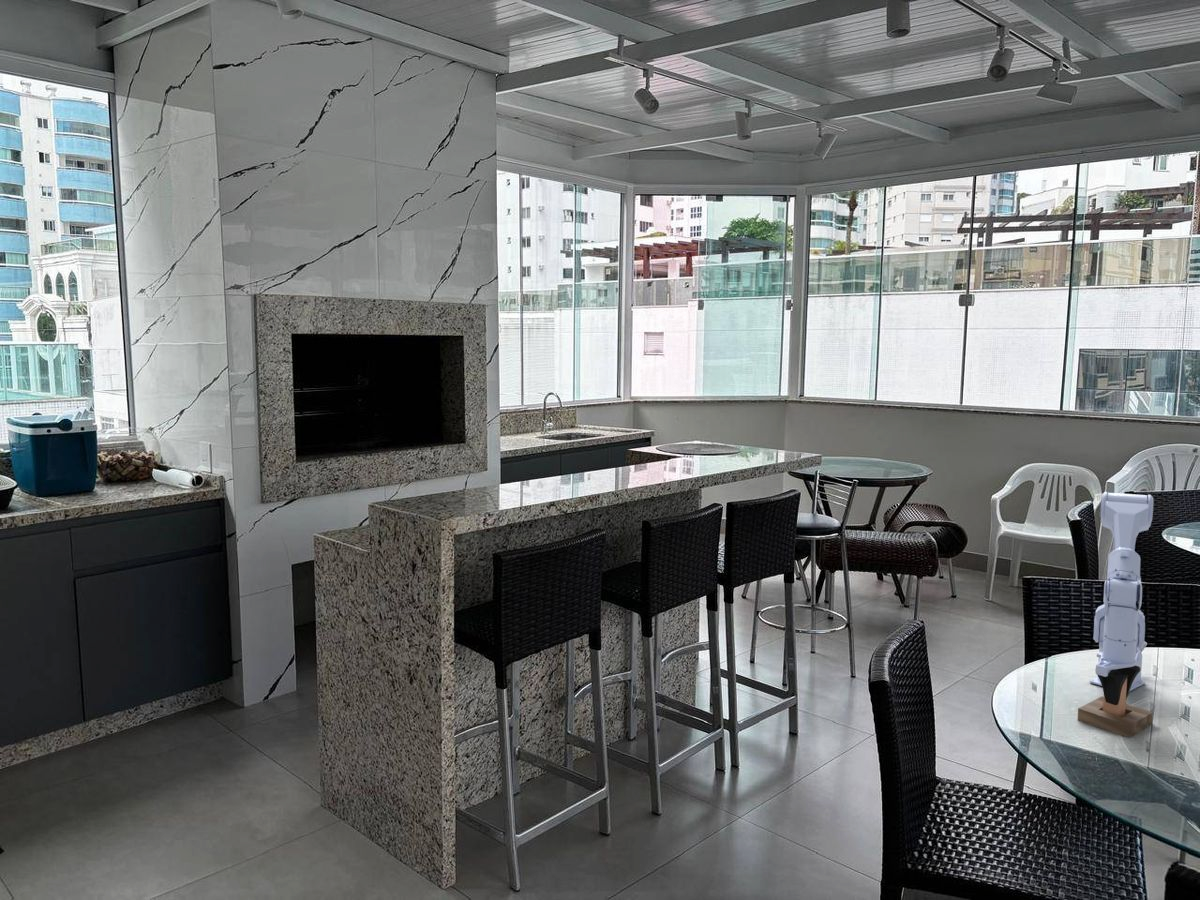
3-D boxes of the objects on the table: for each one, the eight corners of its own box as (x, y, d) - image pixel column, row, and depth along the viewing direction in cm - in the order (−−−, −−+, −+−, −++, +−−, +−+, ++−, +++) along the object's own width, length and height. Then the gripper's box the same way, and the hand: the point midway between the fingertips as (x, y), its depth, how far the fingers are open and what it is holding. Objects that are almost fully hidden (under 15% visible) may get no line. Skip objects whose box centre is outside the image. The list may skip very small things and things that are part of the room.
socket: (1101, 707, 187) (1102, 696, 186) (1152, 723, 178) (1153, 712, 178) (1077, 719, 181) (1078, 708, 181) (1129, 737, 173) (1129, 725, 172)
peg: (1109, 710, 182) (1111, 673, 181) (1124, 715, 179) (1127, 678, 178) (1102, 714, 180) (1104, 677, 179) (1117, 719, 178) (1120, 681, 177)
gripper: (1116, 624, 185) (1112, 686, 186) (1081, 639, 176) (1078, 703, 178) (1152, 633, 179) (1148, 697, 181) (1118, 649, 171) (1114, 715, 172)
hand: (1115, 701), depth 179 cm, fingers closed on peg, 3 cm apart
